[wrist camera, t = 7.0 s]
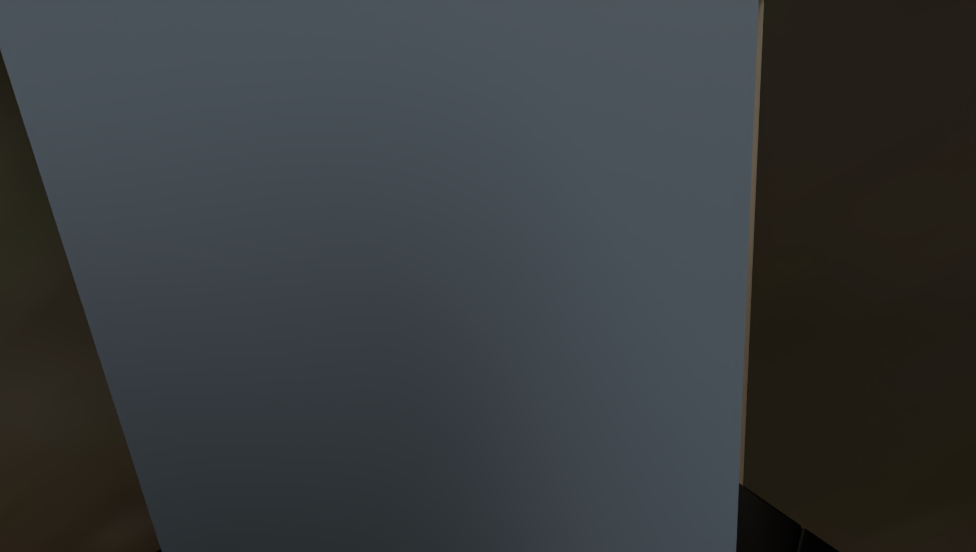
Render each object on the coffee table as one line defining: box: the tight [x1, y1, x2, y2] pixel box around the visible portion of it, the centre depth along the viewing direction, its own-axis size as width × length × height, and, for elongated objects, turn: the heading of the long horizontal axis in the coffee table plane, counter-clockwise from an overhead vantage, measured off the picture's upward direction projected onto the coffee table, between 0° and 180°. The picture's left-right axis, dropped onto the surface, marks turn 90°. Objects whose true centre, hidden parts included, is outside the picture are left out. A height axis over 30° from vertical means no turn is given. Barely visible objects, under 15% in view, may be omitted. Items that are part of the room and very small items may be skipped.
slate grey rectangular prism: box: [0, 0, 759, 552], centre depth 7 cm, size 4×14×6 cm, turn 5°
